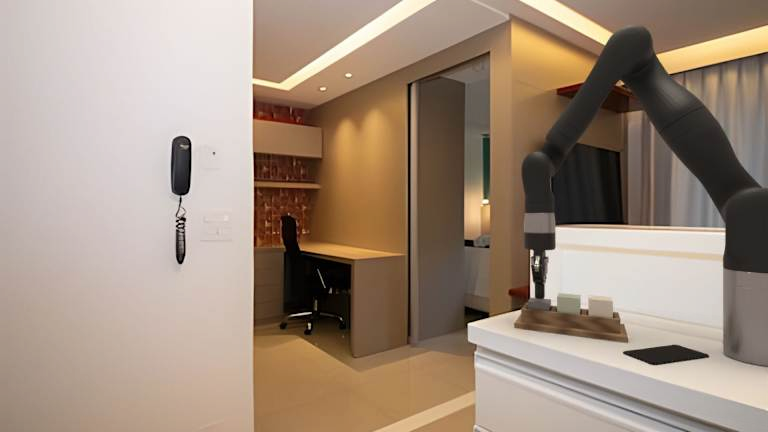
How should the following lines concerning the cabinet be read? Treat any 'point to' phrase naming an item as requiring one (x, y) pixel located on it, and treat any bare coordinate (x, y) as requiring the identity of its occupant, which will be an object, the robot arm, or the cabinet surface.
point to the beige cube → (600, 306)
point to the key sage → (569, 303)
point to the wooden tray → (572, 324)
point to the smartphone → (665, 354)
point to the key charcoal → (539, 304)
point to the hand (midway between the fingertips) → (539, 298)
